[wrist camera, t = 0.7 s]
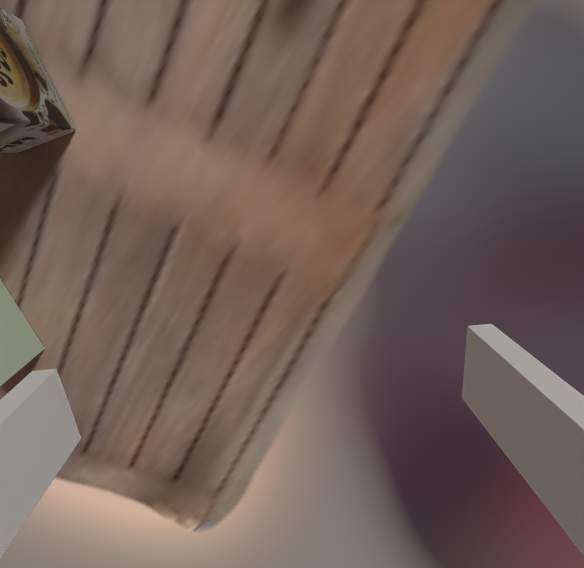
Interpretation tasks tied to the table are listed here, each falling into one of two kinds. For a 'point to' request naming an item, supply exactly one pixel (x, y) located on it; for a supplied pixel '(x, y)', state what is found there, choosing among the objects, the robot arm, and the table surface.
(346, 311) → the table surface
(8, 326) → the frame
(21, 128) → the coffee box
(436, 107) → the table surface
